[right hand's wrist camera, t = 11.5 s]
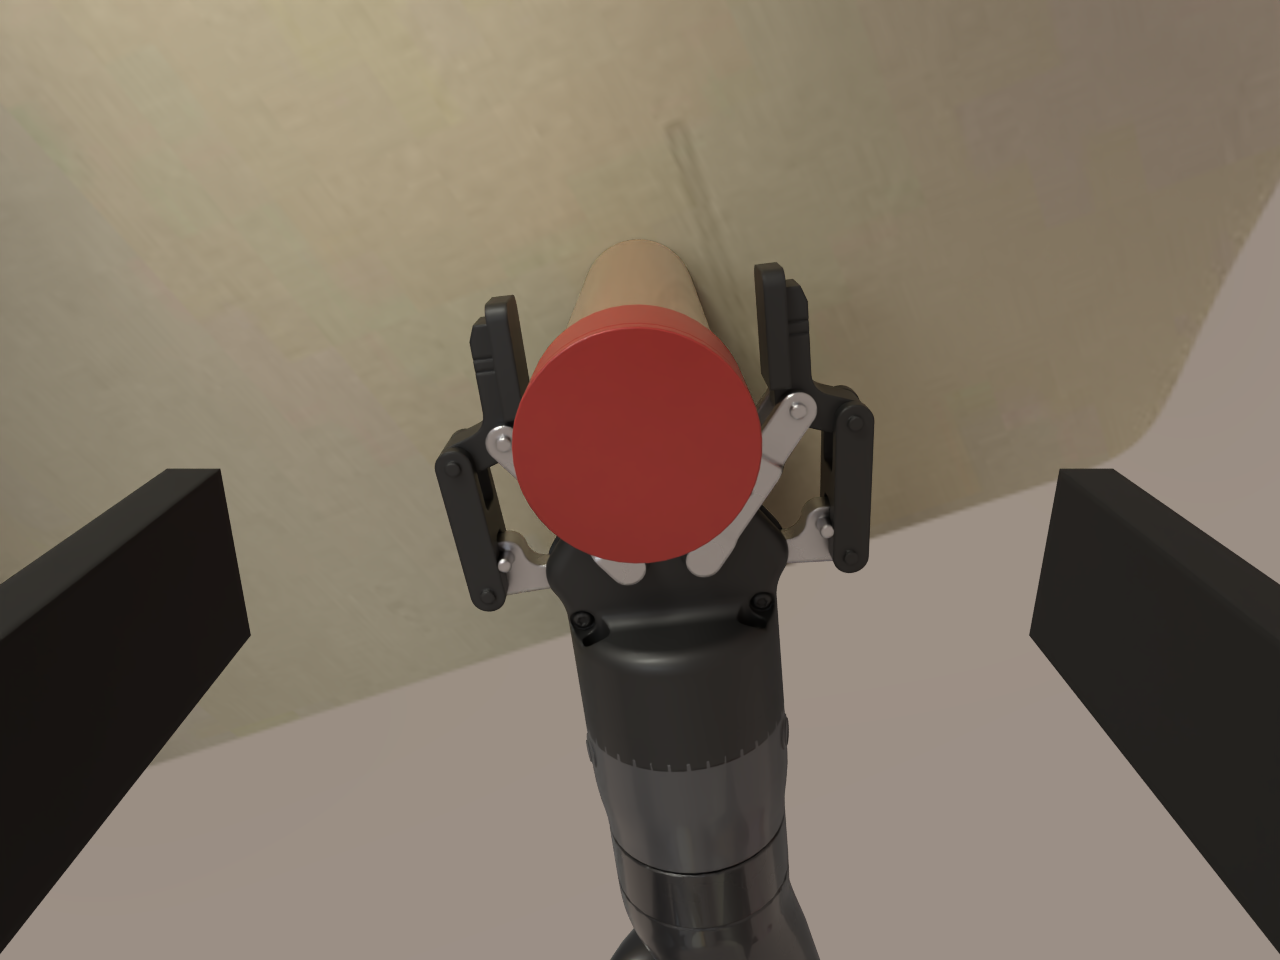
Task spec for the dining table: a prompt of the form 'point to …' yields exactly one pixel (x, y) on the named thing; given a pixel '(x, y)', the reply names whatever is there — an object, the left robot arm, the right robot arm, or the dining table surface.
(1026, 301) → the dining table surface
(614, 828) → the left robot arm
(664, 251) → the tan tall cylinder
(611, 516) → the lid
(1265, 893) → the right robot arm
